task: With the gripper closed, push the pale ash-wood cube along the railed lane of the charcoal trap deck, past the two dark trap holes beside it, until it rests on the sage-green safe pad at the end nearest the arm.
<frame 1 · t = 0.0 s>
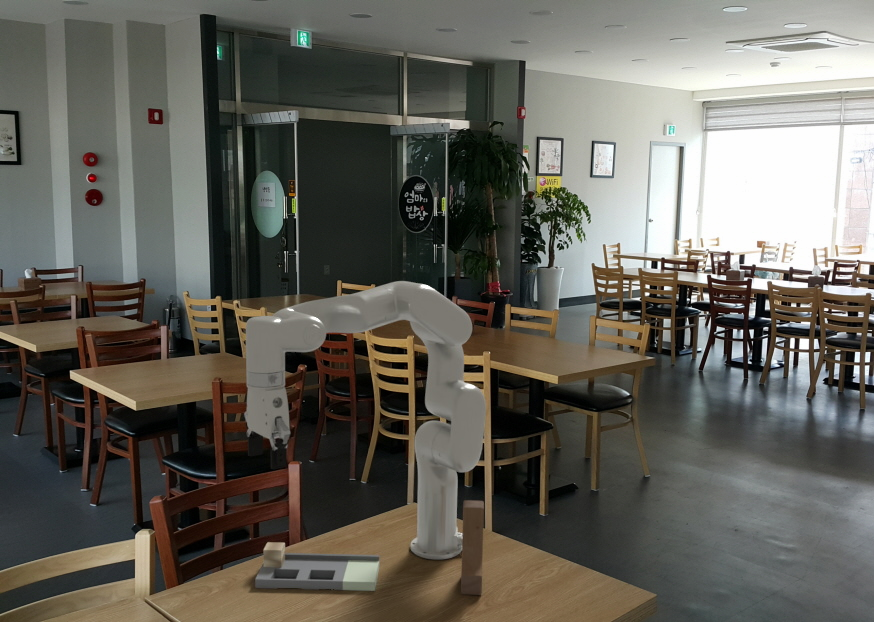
hand: (266, 461, 161), 31 cm above the table, tool pointing down, fingers open, 9 cm apart
ash cube: (274, 563, 180), point 2 cm above the table, touching trap deck
wooden block: (471, 586, 176), on the table
trap deck: (319, 577, 178), on the table
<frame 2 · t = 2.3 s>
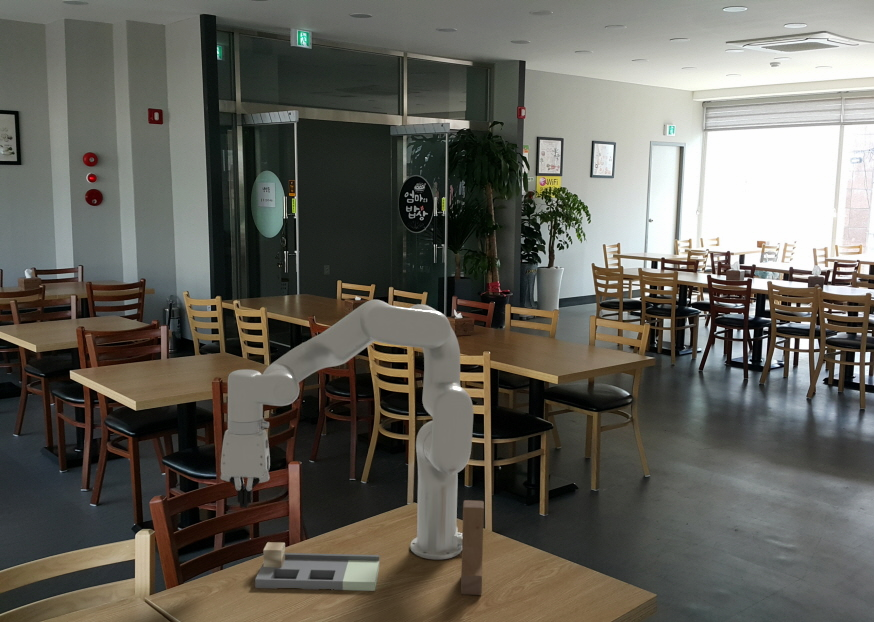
hand: (245, 505, 178), 16 cm above the table, tool pointing down, fingers closed
nothing on the table moved.
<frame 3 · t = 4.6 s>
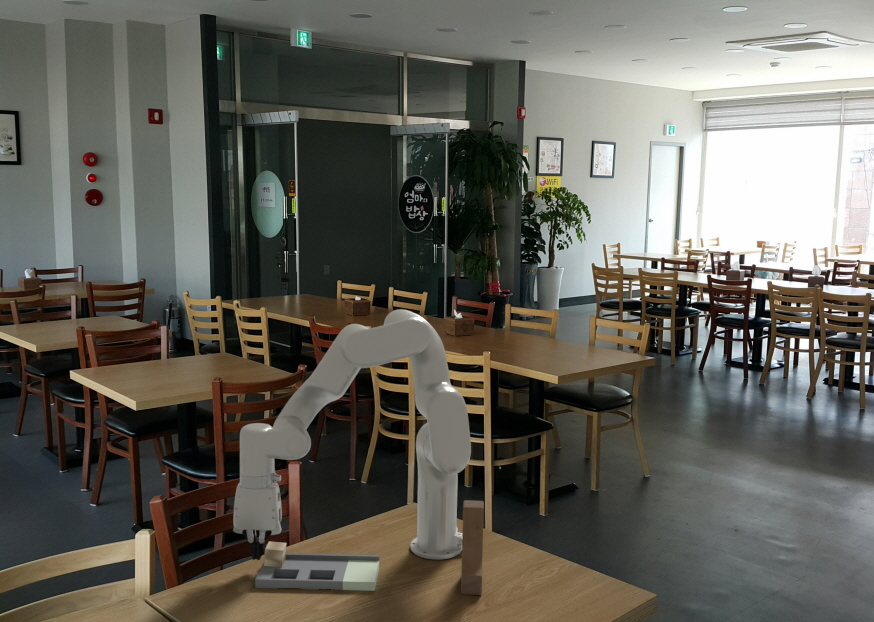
hand: (257, 557, 180), 3 cm above the table, tool pointing down, fingers closed
ash cube: (274, 562, 180), point 2 cm above the table, touching gripper, trap deck
everything else where it was.
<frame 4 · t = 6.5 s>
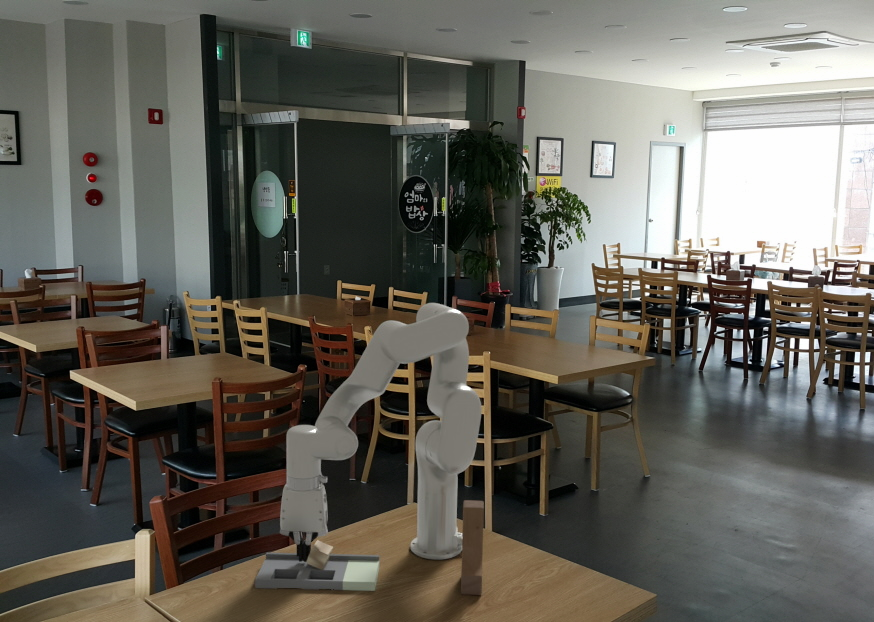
hand: (303, 559, 180), 3 cm above the table, tool pointing down, fingers closed
ash cube: (316, 562, 180), point 3 cm above the table, tilted 20°, touching gripper
everything else where it was.
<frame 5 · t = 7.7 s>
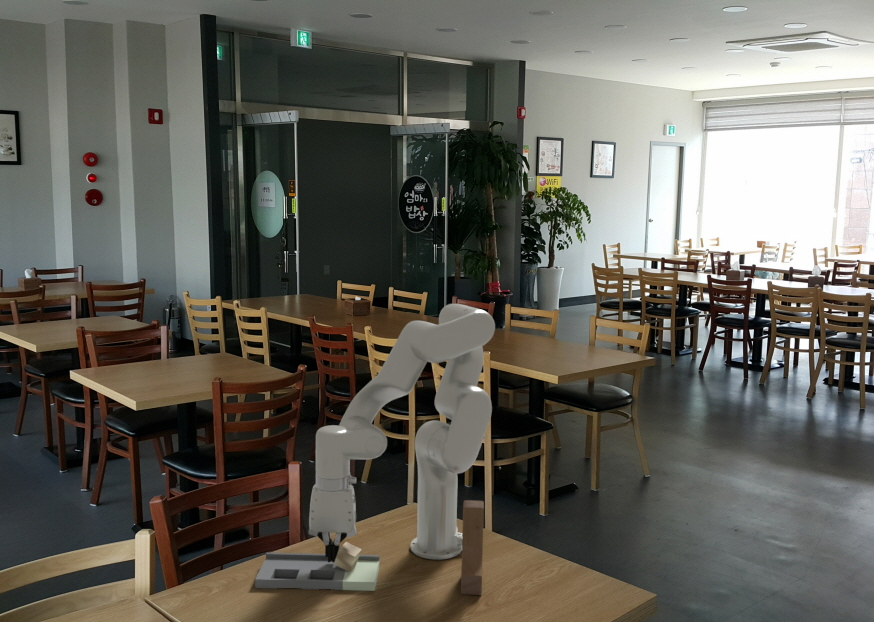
hand: (332, 559, 180), 3 cm above the table, tool pointing down, fingers closed
ash cube: (345, 564, 179), point 3 cm above the table, tilted 19°, touching gripper
everything else where it was.
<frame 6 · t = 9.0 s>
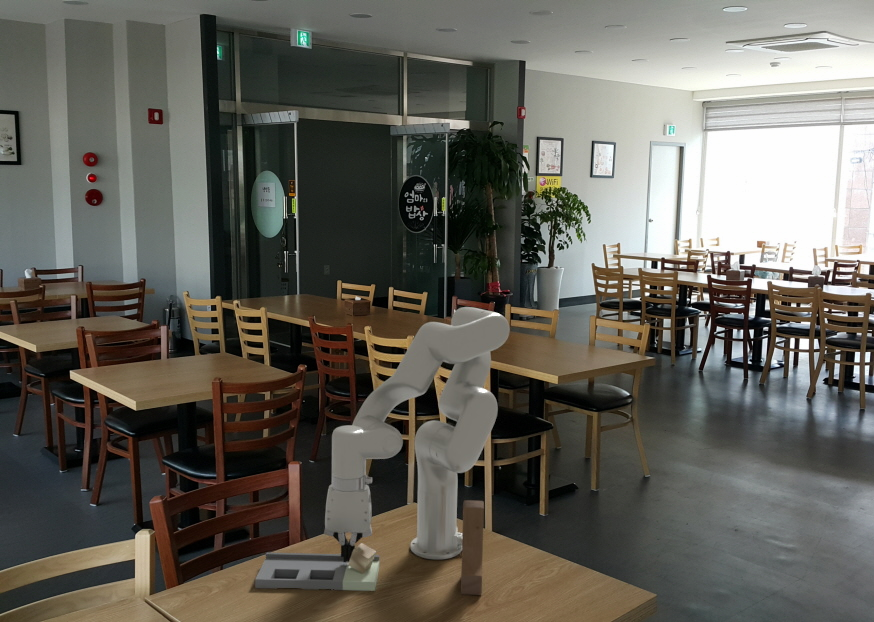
hand: (347, 559, 180), 3 cm above the table, tool pointing down, fingers closed
ash cube: (359, 565, 179), point 3 cm above the table, tilted 19°, touching gripper
everything else where it was.
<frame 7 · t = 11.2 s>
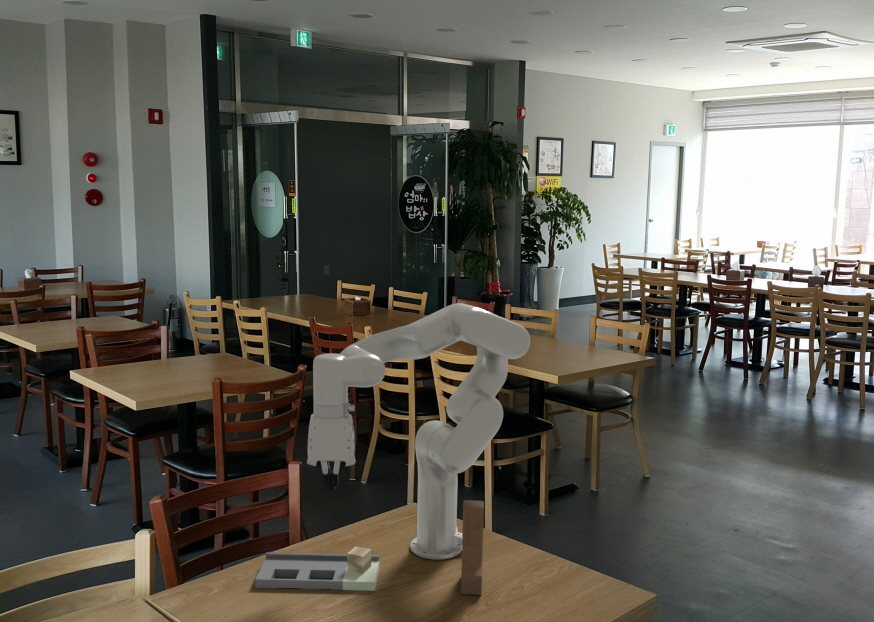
hand: (331, 489, 179), 19 cm above the table, tool pointing down, fingers closed
ash cube: (359, 568, 179), point 2 cm above the table, touching trap deck
everything else where it was.
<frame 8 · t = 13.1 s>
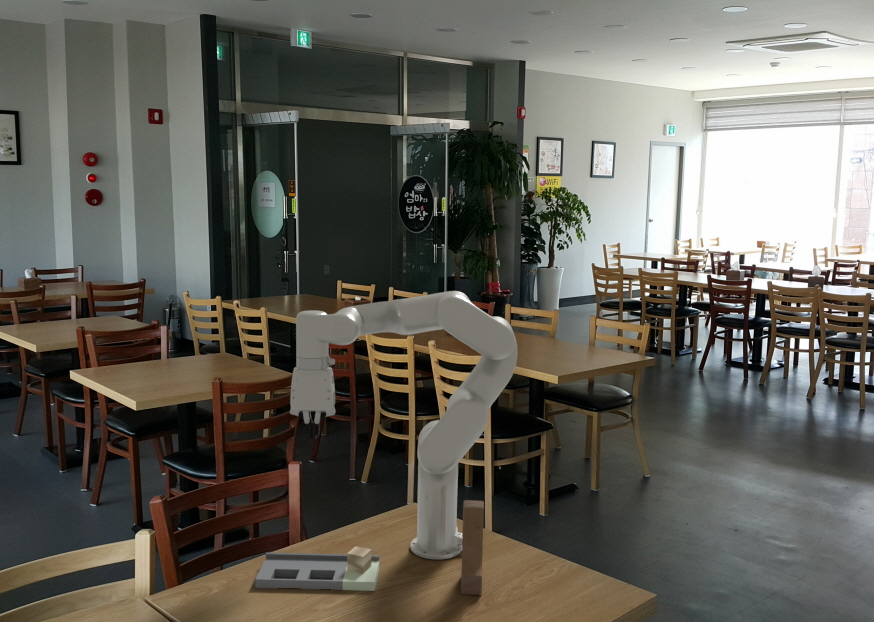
hand: (312, 438, 190), 27 cm above the table, tool pointing down, fingers closed
nothing on the table moved.
at the end: ash cube inside the target area (1.2 cm from its centre), point 2.0 cm above the table; ash cube tilted 0° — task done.
